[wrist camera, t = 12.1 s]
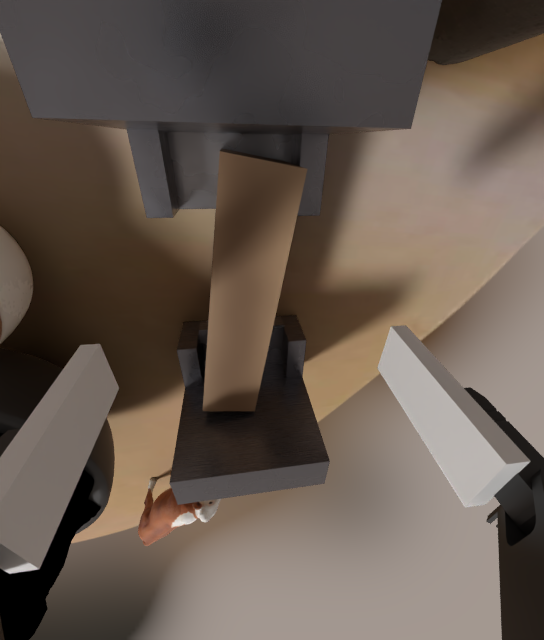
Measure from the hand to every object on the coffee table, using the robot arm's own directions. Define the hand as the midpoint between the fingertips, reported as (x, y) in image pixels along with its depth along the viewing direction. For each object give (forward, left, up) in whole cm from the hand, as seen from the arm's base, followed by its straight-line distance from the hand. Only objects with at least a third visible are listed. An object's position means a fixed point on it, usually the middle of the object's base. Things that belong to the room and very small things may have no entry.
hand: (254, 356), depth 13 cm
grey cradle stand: (0, 0, -12) cm, 12 cm away
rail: (0, +1, -10) cm, 10 cm away
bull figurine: (+9, +29, -12) cm, 32 cm away
